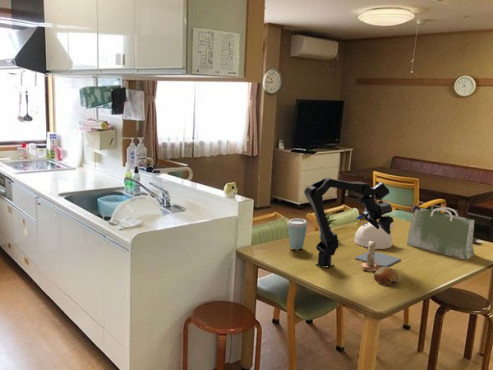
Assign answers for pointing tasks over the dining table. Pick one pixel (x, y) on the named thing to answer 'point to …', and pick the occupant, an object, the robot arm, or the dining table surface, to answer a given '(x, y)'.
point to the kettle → (373, 236)
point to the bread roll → (386, 276)
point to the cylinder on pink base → (371, 258)
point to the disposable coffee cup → (297, 232)
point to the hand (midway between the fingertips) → (383, 231)
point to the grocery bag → (442, 232)
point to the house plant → (328, 221)
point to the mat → (380, 259)
